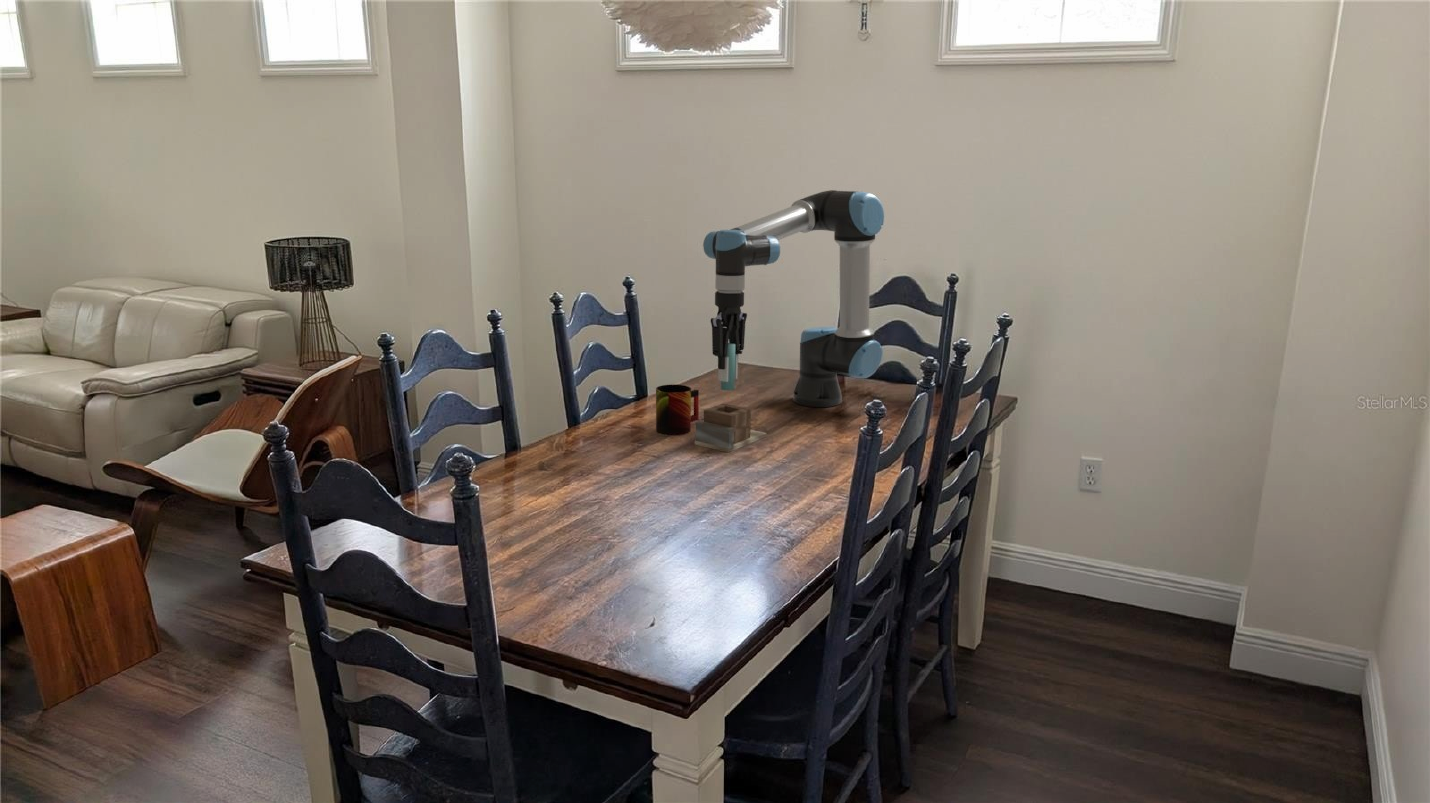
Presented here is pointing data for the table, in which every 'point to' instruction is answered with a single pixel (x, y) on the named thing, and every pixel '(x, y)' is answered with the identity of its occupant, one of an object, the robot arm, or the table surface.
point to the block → (731, 419)
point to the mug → (675, 409)
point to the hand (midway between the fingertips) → (727, 379)
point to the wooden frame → (721, 436)
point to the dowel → (730, 369)
